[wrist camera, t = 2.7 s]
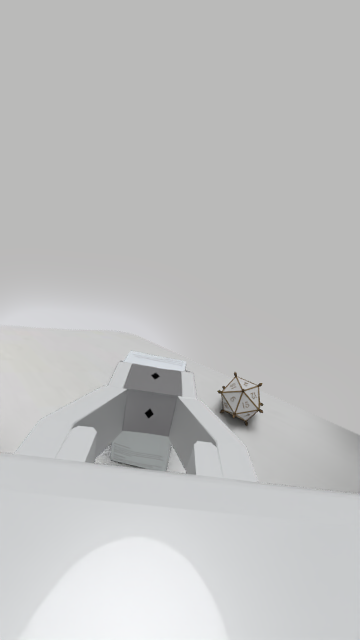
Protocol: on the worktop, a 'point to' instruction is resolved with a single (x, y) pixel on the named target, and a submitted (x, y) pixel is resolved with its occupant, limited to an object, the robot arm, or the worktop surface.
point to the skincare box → (145, 446)
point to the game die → (241, 398)
